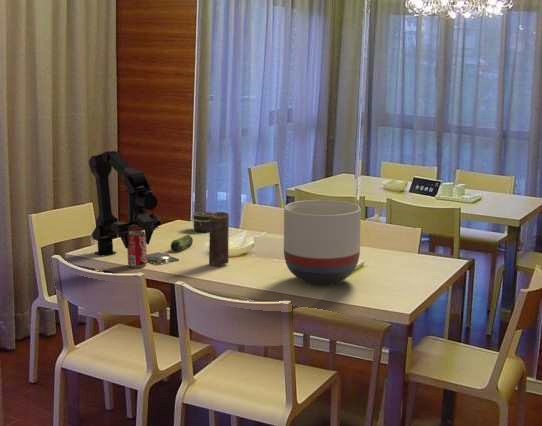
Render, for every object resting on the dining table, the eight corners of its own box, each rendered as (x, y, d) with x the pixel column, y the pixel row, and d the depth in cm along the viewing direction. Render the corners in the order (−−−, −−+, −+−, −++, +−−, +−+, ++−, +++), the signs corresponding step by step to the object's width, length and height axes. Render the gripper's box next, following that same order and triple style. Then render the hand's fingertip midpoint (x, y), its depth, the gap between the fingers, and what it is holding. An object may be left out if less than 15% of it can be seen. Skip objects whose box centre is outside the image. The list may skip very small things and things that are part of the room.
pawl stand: (137, 257, 324) (137, 254, 323) (158, 253, 330) (158, 250, 330) (157, 265, 314) (157, 261, 313) (178, 260, 320) (178, 257, 320)
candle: (232, 263, 316) (232, 212, 312) (223, 268, 309) (222, 216, 305) (214, 261, 319) (214, 210, 315) (205, 266, 313) (204, 214, 308)
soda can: (143, 268, 309) (142, 235, 306) (125, 267, 310) (123, 234, 307) (149, 263, 316) (148, 230, 313) (131, 262, 317) (130, 229, 314)
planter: (371, 289, 284) (373, 212, 279) (297, 296, 277) (297, 217, 271) (342, 268, 310) (344, 198, 304) (274, 274, 302) (274, 202, 296)
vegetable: (180, 253, 331) (179, 241, 330) (168, 252, 333) (168, 240, 332) (196, 245, 344) (195, 234, 342) (185, 244, 345) (184, 232, 344)
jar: (190, 232, 366) (190, 215, 364) (196, 227, 375) (196, 211, 374) (212, 233, 364) (212, 216, 362) (217, 228, 374) (217, 212, 372)
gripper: (126, 212, 296) (127, 254, 299) (169, 205, 308) (170, 246, 311) (109, 207, 304) (111, 248, 307) (152, 201, 316) (153, 240, 319)
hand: (137, 246), depth 311 cm, fingers open, 9 cm apart
